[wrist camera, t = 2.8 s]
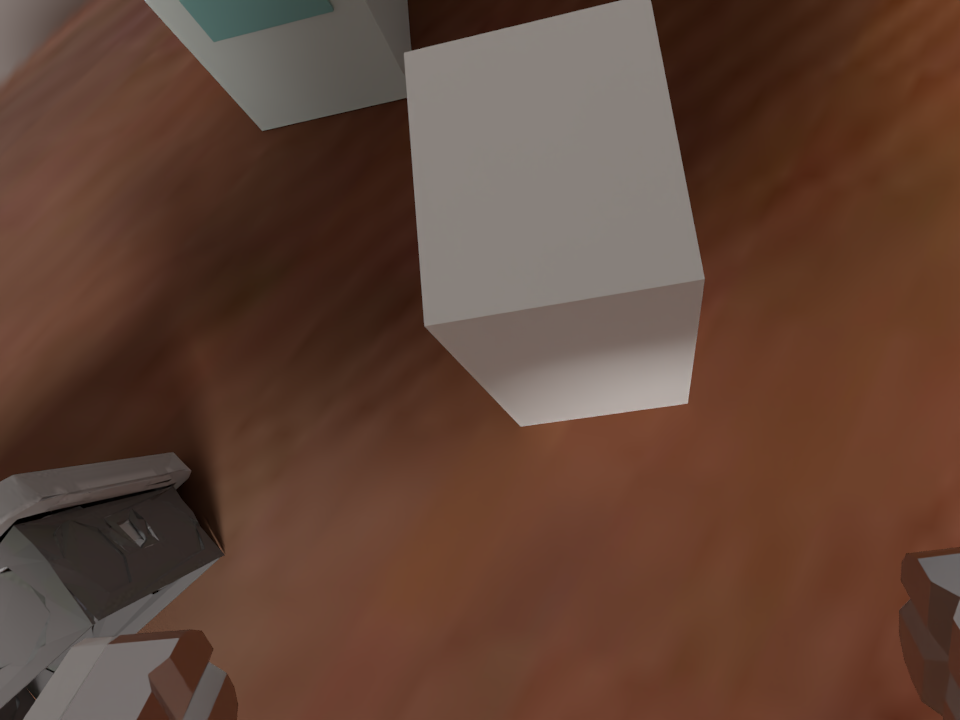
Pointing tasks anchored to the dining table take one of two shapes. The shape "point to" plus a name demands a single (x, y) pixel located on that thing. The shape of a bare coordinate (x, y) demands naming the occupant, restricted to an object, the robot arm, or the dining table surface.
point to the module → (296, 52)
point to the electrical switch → (88, 561)
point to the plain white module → (556, 214)
